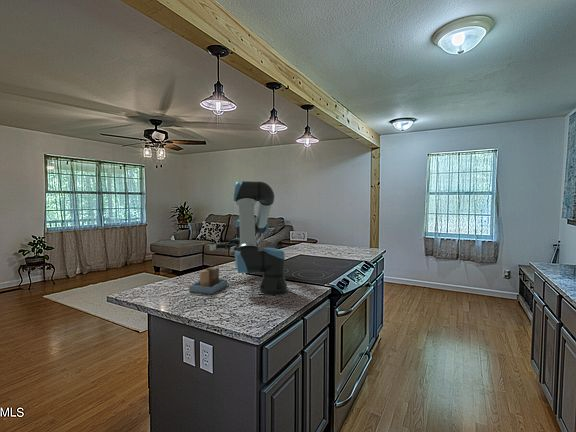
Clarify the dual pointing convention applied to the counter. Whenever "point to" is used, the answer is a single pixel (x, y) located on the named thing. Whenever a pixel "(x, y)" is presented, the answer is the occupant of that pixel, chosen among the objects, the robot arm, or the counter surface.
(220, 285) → the tray
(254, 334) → the counter surface
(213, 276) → the walnut block
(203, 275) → the canister
